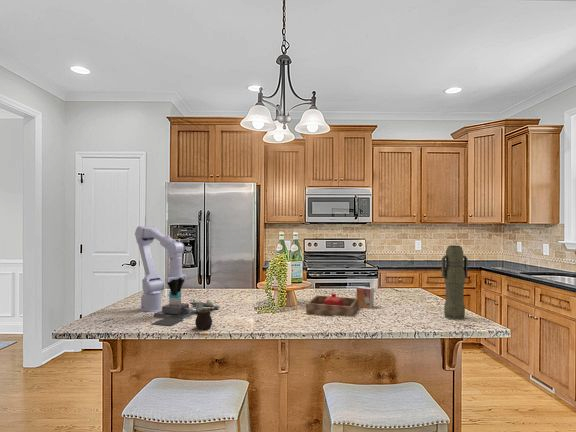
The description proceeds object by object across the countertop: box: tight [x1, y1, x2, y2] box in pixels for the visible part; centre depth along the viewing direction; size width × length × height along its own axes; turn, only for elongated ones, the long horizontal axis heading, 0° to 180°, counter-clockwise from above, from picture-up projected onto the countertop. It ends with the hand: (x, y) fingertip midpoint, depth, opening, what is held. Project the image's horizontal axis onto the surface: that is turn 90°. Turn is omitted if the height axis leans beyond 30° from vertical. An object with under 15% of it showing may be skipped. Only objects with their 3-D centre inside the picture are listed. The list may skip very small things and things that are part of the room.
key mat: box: [150, 318, 184, 327], centre depth 173 cm, size 10×10×1 cm
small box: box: [355, 286, 375, 309], centre depth 205 cm, size 8×6×10 cm
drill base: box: [153, 310, 197, 320], centre depth 187 cm, size 16×12×2 cm
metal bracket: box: [188, 299, 221, 311], centre depth 195 cm, size 14×6×15 cm
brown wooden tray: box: [305, 295, 360, 317], centre depth 197 cm, size 23×21×5 cm
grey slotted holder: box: [161, 302, 197, 314], centre depth 185 cm, size 16×9×3 cm, turn 71°
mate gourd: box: [194, 306, 213, 331], centre depth 163 cm, size 7×8×10 cm
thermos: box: [441, 244, 469, 321], centre depth 180 cm, size 9×12×35 cm
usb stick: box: [168, 290, 182, 306], centre depth 187 cm, size 6×2×7 cm, turn 71°
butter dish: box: [324, 293, 344, 306], centre depth 200 cm, size 12×12×8 cm
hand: (175, 294), depth 187 cm, fingers closed on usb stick, 2 cm apart
